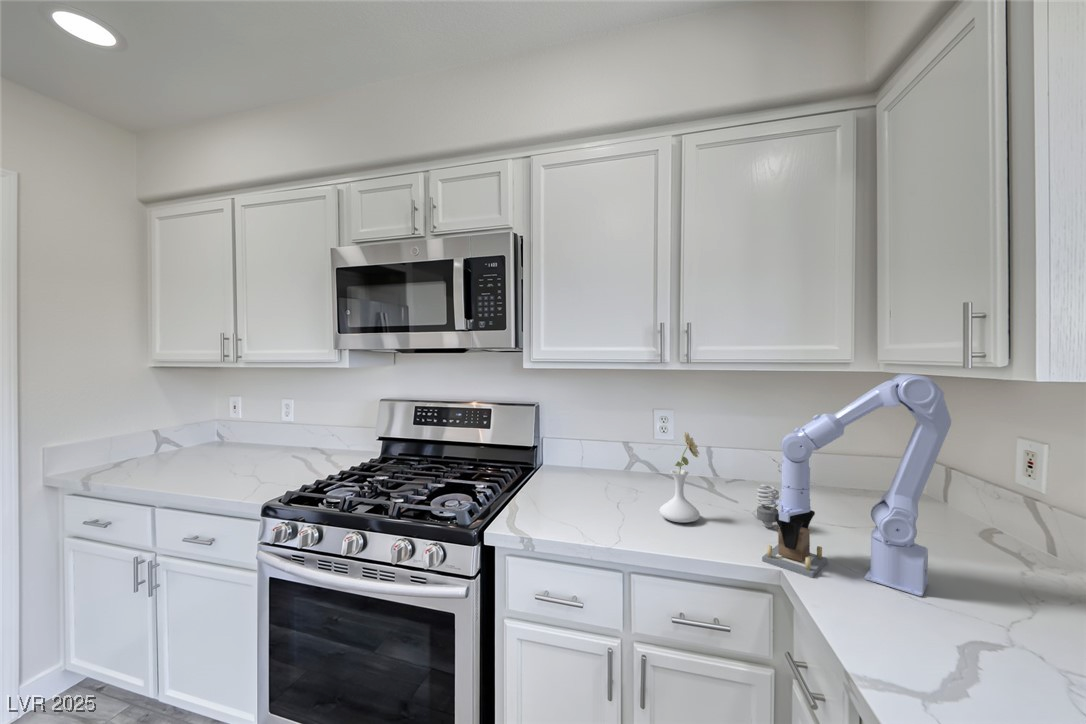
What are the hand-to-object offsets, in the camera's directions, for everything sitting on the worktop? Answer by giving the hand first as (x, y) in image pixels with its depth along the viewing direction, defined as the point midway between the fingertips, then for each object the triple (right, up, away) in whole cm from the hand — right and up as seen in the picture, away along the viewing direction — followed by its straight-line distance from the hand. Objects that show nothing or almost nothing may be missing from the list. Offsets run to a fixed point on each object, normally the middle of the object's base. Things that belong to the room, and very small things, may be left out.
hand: (794, 544), depth 103 cm
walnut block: (0, -3, 0) cm, 3 cm away
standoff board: (0, -4, 0) cm, 4 cm away
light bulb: (+4, -4, +20) cm, 20 cm away
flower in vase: (-18, -4, +27) cm, 33 cm away
